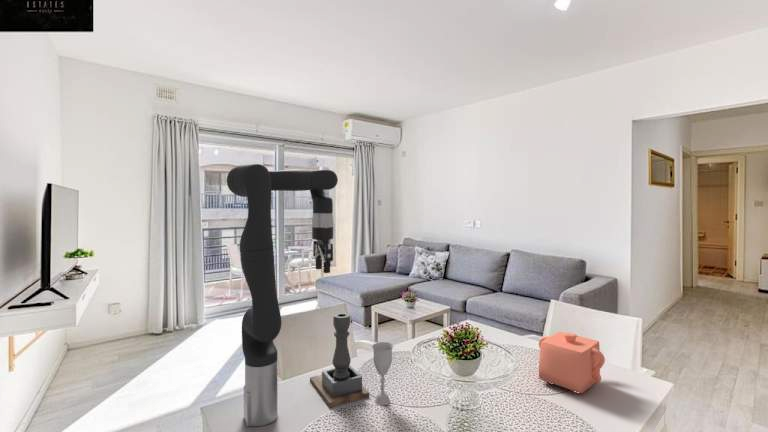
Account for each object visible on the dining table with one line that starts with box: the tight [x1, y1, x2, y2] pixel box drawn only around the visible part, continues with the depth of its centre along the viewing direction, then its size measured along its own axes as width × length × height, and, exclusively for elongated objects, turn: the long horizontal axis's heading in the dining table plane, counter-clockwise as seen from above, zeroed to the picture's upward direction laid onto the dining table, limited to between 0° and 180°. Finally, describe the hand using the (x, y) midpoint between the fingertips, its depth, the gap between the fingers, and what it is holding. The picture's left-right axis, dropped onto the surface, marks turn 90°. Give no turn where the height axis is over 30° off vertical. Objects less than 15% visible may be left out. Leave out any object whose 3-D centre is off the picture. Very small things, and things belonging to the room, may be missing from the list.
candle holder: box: [332, 312, 352, 381], centre depth 128 cm, size 6×6×25 cm
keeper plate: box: [309, 374, 370, 408], centre depth 131 cm, size 14×20×2 cm
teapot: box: [538, 331, 606, 394], centre depth 139 cm, size 25×23×18 cm
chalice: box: [371, 341, 394, 406], centre depth 123 cm, size 7×7×18 cm
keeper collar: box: [321, 364, 363, 399], centre depth 128 cm, size 10×10×5 cm
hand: (322, 271), depth 136 cm, fingers open, 8 cm apart
